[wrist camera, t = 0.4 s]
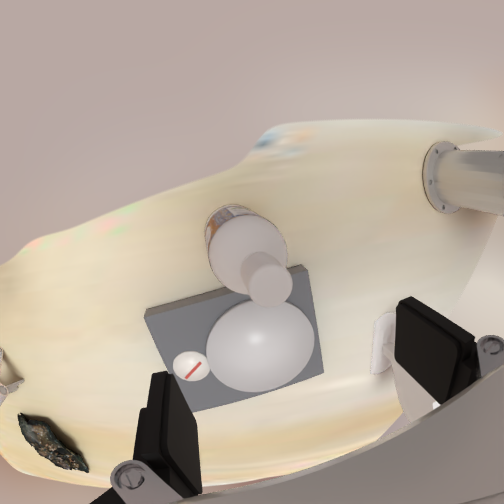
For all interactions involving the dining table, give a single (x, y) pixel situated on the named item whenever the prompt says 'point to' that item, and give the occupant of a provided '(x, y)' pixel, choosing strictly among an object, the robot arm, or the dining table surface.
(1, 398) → the portable electronic device stand
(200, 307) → the dial scale
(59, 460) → the decorative rock
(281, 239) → the bath foam
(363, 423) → the dining table surface
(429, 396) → the heart sculpture
